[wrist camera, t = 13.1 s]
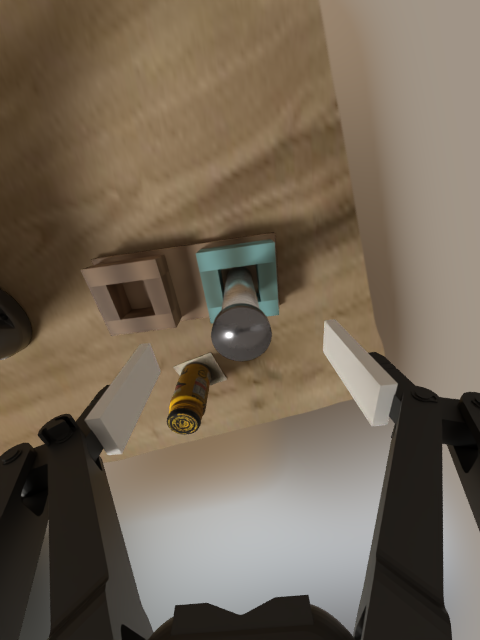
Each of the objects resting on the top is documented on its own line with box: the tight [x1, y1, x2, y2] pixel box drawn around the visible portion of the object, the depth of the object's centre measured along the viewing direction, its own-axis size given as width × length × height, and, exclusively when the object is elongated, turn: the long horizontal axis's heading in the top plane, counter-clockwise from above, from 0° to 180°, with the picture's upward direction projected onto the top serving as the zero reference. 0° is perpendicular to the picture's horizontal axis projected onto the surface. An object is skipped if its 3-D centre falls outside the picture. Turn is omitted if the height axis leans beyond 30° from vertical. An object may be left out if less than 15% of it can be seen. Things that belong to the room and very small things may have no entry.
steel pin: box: [211, 267, 272, 361], centre depth 26 cm, size 5×5×18 cm
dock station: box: [81, 233, 279, 336], centre depth 33 cm, size 28×12×5 cm, turn 98°
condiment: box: [167, 353, 227, 434], centre depth 38 cm, size 7×8×12 cm
